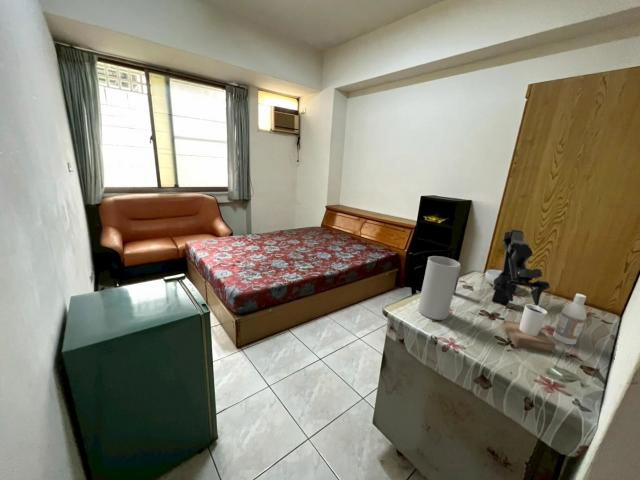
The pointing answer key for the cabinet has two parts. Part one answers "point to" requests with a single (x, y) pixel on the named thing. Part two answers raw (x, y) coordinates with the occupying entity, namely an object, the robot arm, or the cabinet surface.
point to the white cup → (532, 319)
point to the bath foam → (571, 321)
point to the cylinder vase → (438, 287)
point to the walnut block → (527, 338)
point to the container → (457, 280)
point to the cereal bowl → (492, 275)
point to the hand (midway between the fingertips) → (524, 303)
